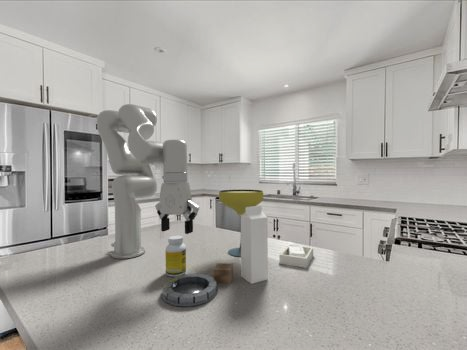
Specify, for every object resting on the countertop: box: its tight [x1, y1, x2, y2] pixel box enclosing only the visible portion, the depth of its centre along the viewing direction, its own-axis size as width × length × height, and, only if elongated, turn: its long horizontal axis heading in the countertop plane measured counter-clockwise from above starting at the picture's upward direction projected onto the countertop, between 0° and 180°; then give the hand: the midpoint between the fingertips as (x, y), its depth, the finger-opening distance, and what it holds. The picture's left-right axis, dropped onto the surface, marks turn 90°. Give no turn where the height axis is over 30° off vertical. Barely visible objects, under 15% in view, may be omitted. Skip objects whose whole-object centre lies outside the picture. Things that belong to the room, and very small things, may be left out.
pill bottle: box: [165, 235, 187, 278], centre depth 78 cm, size 6×6×12 cm
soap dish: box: [279, 244, 314, 269], centre depth 90 cm, size 9×13×3 cm
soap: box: [289, 245, 306, 258], centre depth 90 cm, size 9×6×3 cm, turn 171°
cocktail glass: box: [218, 189, 265, 258], centre depth 98 cm, size 18×18×25 cm
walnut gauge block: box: [213, 262, 234, 284], centre depth 73 cm, size 5×5×4 cm
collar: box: [161, 273, 218, 308], centre depth 65 cm, size 15×15×2 cm
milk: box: [240, 205, 269, 285], centre depth 74 cm, size 6×6×22 cm
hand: (176, 231), depth 78 cm, fingers open, 9 cm apart
